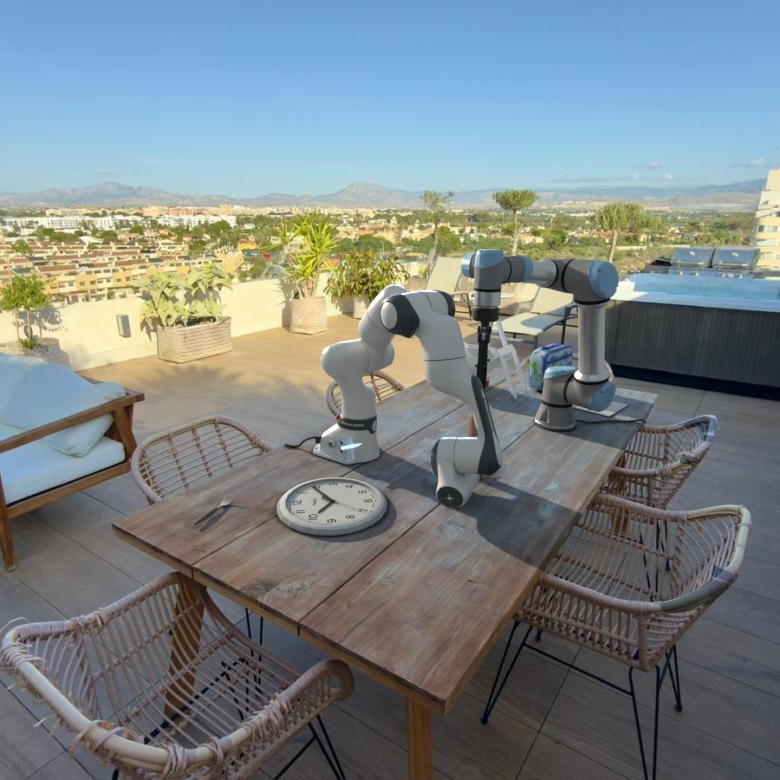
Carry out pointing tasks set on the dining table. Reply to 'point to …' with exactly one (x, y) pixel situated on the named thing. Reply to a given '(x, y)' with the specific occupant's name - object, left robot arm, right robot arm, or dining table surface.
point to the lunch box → (547, 362)
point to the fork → (223, 503)
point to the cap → (487, 382)
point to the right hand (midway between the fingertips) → (481, 385)
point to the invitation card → (607, 409)
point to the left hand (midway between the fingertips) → (475, 454)
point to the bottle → (472, 427)
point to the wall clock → (331, 506)
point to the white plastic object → (498, 360)
